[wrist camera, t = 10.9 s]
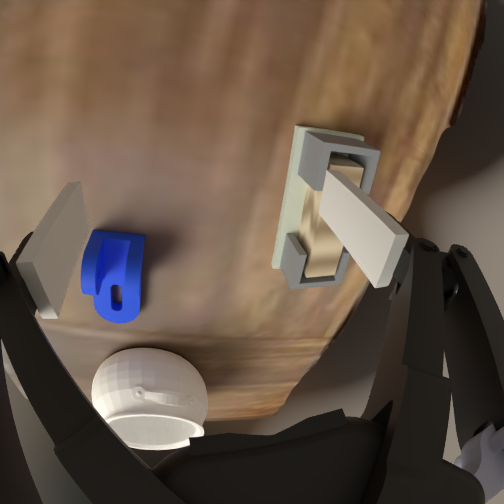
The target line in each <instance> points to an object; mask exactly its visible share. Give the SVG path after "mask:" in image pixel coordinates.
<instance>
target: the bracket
mask: <svg viewBox="0 0 504 504" xmlns="http://www.w3.org/2000/svg"><path fill="white" fill-rule="evenodd" d="M144 240H145V235H136V234H127V233H117V232H108V231H98V230H93V231H92V234H91V236H90V239H89V241H88V244H87V246H86V249H85V251H84V255H83V260H82V266H81V288H82V292H83V294H89V295H93V296H94V305H95V309H96V311H97V312H98V314H99V315H100V316H101V317H103V318H104V319H106V320H108V321H111V322H115V323H126V322H130V321H132V320H134V319H135V318H136V317H137V316H138V314H139V311H140V296H141V278H142V263H143V251H144ZM112 285H119V286H121V288H122V303H120V304H117V303H115V302H114V301H113V300H112Z"/></svg>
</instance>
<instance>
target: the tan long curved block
mask: <svg viewBox="0 0 504 504" xmlns="http://www.w3.org/2000/svg"><path fill="white" fill-rule="evenodd" d="M327 170H339V171H340V172H341V173H342V174H343V175H345V176H346V177H347V178H348V179H349V180H351V181H352V182H353V183H354V184H355V185H356V186H358V187H360V183H361V178H362V174H363V170H364V168H363V167H362V166H360V165H359V164H357V163H356V162H354V161H353V160H351V159H349V158H348V157H346V156H345V155H343V154H335V153H330V158H329V162H328V167H327ZM323 187H324V185H323ZM322 192H323V190H322V191H314V190H313V189H312V188H311V187H310V186H309V185H308V184H307V189H306V195H305V200H304V205H303V211H302V216H301V221H300V226H299V232H298V237H297V240H298V241H299V243H300V245H301V246H302V248H303V249H304V251H305V252H306V254H307V257H306V260H305V264H304V268H303V272H304V274H305V276H306V278H309V277H319V276H329V275H335V272H336V269H337V266H338V262H339V259H340V256H341V253H342V249H343V246H344V245H343V244H342V242H341V241H340V240H339V239H338V237H337V236H336V235H335V233H334V232H333V231H332V230H331V228H330V227H329V226H328V224H327V223H326V222H325V221H324V219H323V218H322V217H321V216H320V214H319V213H318V212H319V207H320V202H321V197H322Z"/></svg>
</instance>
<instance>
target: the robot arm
mask: <svg viewBox="0 0 504 504" xmlns="http://www.w3.org/2000/svg"><path fill="white" fill-rule="evenodd" d="M318 213H319V214H320V216H321V217H322V218H323V219H324V221H325V222H326V223H327V224H328V226H329V227H330V228H331V230H332V231H333V232H334V233H335V235H336V236H337V237H338V239H339V240H340V241H341V242H342V244H343V245H344V246H345V248H346V249H347V250H348V252H349V253H350V254H351V256H352V257H353V258H354V260H355V261H356V262H357V264H358V265H359V267H360V268H361V269H362V271H363V272H364V273H365V275H366V276H367V278H368V279H369V280H370V282H371V283H372V285H373V286H374V287H375V288H378V287H384V286H388V285H389V283H390V281H391V278H392V276H393V275H394V277H395V278H396V279H397V282H396V285H395V287H394V289H393V291H392V293H391V295H390V297H389V300H391V299H392V304H391V309H390V314H389V320H388V325H387V330H386V334H385V339H384V343H383V347H382V352H381V356H380V360H379V364H378V368H377V371H376V375H375V379H374V383H373V386H372V389H371V393H370V396H369V400H368V403H367V406H366V408H365V411H364V413H363V414H362V416H361V418H358V417H345V414H344V412H343V410H342V408H341V409H338V410H335V411H331V412H328V413H324V414H320V415H317V416H313V417H309V418H307V419H305V420H303V421H301V422H299V423H297V424H295V425H294V426H291V427H290V428H287V429H285V430H283V431H281V432H279V433H277V434H275V435H269V436H268V435H266V436H265V435H247V434H234V433H225V434H219V435H209V436H199V437H189V443H190V446H187V447H184V448H182V449H179V450H177V451H175V452H173V453H172V454H170V455H168V456H167V457H166V458H164V459H163V460H162V461H160V462H159V463H158V464H157V465H156V466H155V467H154V468H153V470H152V469H151V468H150V467H149V466H148V465H146V464H145V463H144V462H143V461H142V460H141V459H140V458H139V457H138V456H137V455H136V454H135V453H134V452H133V451H132V450H131V449H130V448H129V447H128V446H127V445H126V443H125V442H124V441H123V440H122V439H121V438H120V437H119V436H118V435H117V434H116V432H115V431H114V430H113V429H112V428H111V427H110V426H109V424H108V423H107V422H106V421H105V420H104V419H103V417H102V416H101V415H100V414H99V412H98V411H97V410H96V409H95V408H94V406H93V405H92V404H91V402H90V401H89V400H88V399H87V397H86V396H85V395H84V393H83V392H82V391H81V389H80V388H79V386H78V385H77V384H76V382H75V381H74V379H73V378H72V377H71V375H70V374H69V372H68V371H67V369H66V368H65V366H64V365H63V363H62V362H61V360H60V359H59V357H58V356H57V354H56V352H55V351H54V349H53V348H52V346H51V344H50V343H49V341H48V339H47V338H46V336H45V334H44V332H43V331H42V329H41V327H40V325H39V324H38V322H37V320H36V318H35V316H34V315H35V312H36V310H37V309H38V311H39V313H40V315H41V317H42V318H43V319H53V318H58V317H59V314H60V310H61V307H62V304H63V300H64V297H65V294H66V291H67V288H68V285H69V282H70V279H71V276H72V273H73V270H74V268H75V265H76V262H77V259H78V257H79V254H80V251H81V249H82V246H83V244H84V241H85V239H86V236H87V234H88V232H89V229H90V224H89V220H88V215H87V211H86V206H85V201H84V196H83V191H82V186H81V181H79V182H72V183H68V184H67V185H66V186H65V188H64V189H63V190H62V192H61V193H60V194H59V196H58V197H57V199H56V200H55V201H54V203H53V204H52V206H51V207H50V208H49V210H48V211H47V213H46V214H45V216H44V217H43V219H42V220H41V222H40V223H39V225H38V226H37V228H36V230H35V231H34V232H30V233H29V234H28V235H27V236H26V237H25V238H24V239H23V240H22V242H21V244H20V245H19V248H17V250H16V252H15V254H14V255H13V257H12V259H11V260H10V262H9V264H8V262H7V259H6V257H5V255H4V253H3V252H1V251H0V504H43V503H42V501H41V498H40V495H39V493H38V491H37V488H36V486H35V484H34V481H33V478H32V476H31V473H30V471H29V468H28V465H27V462H26V459H25V456H24V453H23V450H22V447H21V444H20V441H19V437H18V434H17V430H16V426H15V422H14V418H13V414H12V410H11V405H10V401H9V395H8V390H7V385H6V379H5V372H4V365H3V357H2V348H1V339H2V341H3V344H4V347H5V349H6V352H7V354H8V356H9V359H10V361H11V364H12V366H13V368H14V370H15V373H16V375H17V377H18V379H19V381H20V383H21V385H22V387H23V389H24V391H25V393H26V395H27V397H28V399H29V401H30V403H31V405H32V406H33V408H34V410H35V412H36V414H37V415H38V417H39V419H40V420H41V422H42V424H43V425H44V427H45V429H46V431H47V432H48V434H49V435H50V437H51V439H52V440H53V442H54V444H55V447H54V451H55V454H56V455H57V457H58V459H59V460H60V462H61V463H62V465H63V466H64V468H65V469H66V470H67V472H68V473H69V474H70V476H71V477H72V478H73V480H74V481H75V482H76V484H77V485H78V486H79V487H80V489H81V490H82V491H83V492H84V494H85V495H86V496H87V497H88V498H89V500H90V501H91V502H92V503H93V504H485V503H486V502H487V501H488V500H490V499H491V498H492V497H494V496H495V495H496V494H498V493H499V492H500V491H501V490H502V489H504V320H503V317H502V315H501V313H500V310H499V308H498V305H497V303H496V301H495V299H494V297H493V295H492V292H491V290H490V288H489V286H488V284H487V282H486V280H485V278H484V276H483V274H482V272H481V270H480V268H479V266H478V264H477V262H476V261H475V259H474V257H473V255H472V254H471V253H470V251H468V250H467V248H465V247H464V246H460V245H457V244H453V245H451V247H450V250H449V252H448V253H446V252H440V251H439V248H438V247H437V246H436V245H435V244H434V243H433V242H431V241H429V240H427V239H424V238H415V237H414V236H413V235H412V234H411V233H410V232H409V231H408V230H407V229H406V228H405V227H403V226H402V224H401V223H400V222H398V221H397V220H396V219H395V218H394V217H393V216H392V215H391V214H389V213H388V212H386V211H384V210H383V209H382V208H381V207H380V206H379V205H378V204H377V203H376V202H375V201H373V200H372V199H371V198H370V197H369V196H368V195H367V194H366V193H364V192H363V191H362V190H361V189H360V188H359V187H358V186H356V185H355V184H354V183H353V182H352V181H351V180H349V179H348V178H347V177H346V176H345V175H343V174H342V173H341V172H340V171H339V170H326V176H325V181H324V187H323V192H322V197H321V202H320V207H319V212H318ZM457 289H458V291H457ZM456 291H457V294H456V293H455V292H456ZM444 352H445V357H446V362H447V367H448V373H449V378H446V377H443V357H444ZM451 392H452V399H453V407H454V415H455V424H456V432H457V437H458V441H459V446H460V449H461V455H460V456H459V457H457V458H456V460H455V463H454V464H452V463H449V462H448V461H446V460H444V459H442V458H443V453H444V447H445V441H446V434H447V428H448V420H449V411H450V401H451Z"/></svg>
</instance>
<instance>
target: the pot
mask: <svg viewBox="0 0 504 504" xmlns="http://www.w3.org/2000/svg"><path fill="white" fill-rule="evenodd" d="M92 402H93V406H94V408H95V409H96V410H97V411H98V412H99V414H100V415H101V416H102V417H103V419H104V420H105V421H106V422H107V423H108V424H109V426H110V427H111V428H112V429H113V430H114V431H115V432H116V434H117V435H118V436H119V437H120V438H121V439H122V440H123V441H124V442H125V443H126V445H127V446H128V447H132V448H138V449H147V450H165V449H175V448H180V447H184V446H188V445H190V443H189V437H199V436H203V435H204V429H203V427H202V424H203V422H204V420H205V418H206V415H207V410H208V396H207V391H206V386H205V383H204V381H203V379H202V377H201V376H200V374H199V372H198V371H197V370H196V368H195V367H194V366H193V365H192V364H191V363H190V362H188V361H187V360H185V359H184V358H182V357H181V356H179V355H177V354H174V353H172V352H169V351H165V350H161V349H155V348H132V349H127V350H123V351H120V352H117V353H115V354H113V355H112V356H110V357H109V358H107V359H106V360H105V361H104V362H103V363H102V364H101V365H100V367H99V368H98V370H97V372H96V374H95V377H94V379H93V384H92Z"/></svg>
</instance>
